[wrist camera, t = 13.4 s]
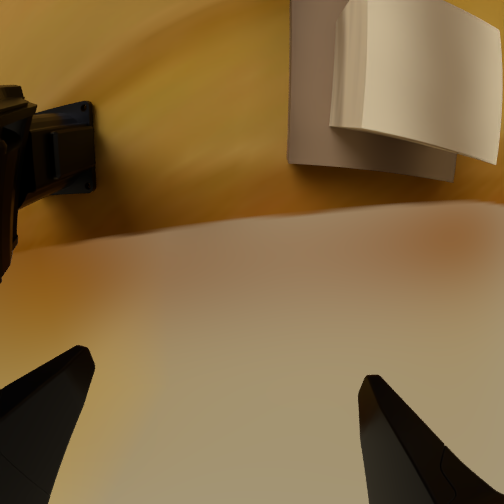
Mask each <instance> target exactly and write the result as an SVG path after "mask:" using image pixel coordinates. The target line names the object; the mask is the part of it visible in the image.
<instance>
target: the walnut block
mask: <svg viewBox="0 0 504 504" xmlns="http://www.w3.org/2000/svg"><path fill="white" fill-rule="evenodd" d="M348 2H349V0H290V52H289V107H288V140H287V160H288V163H291V164H308V165H321V166H334V167H345V168H355V169H364V170H373V171H381V172H389V173H397V174H404V175H411V176H417V177H424V178H430V179H436V180H441V181H447V182H452V183H453V180H454V173H455V166H456V157H457V153H453V152H449V151H446V150H442V149H437V148H433V147H429V146H425V145H421V144H418V143H414V142H409V141H405V140H401V139H397V138H392V137H388V136H383V135H378V134H373V133H368V132H362V131H357V130H351V129H345V128H339V127H332V126H329V123H330V112H331V100H332V87H333V72H334V55H335V33H336V21H337V19H338V17H339V16H340V14H341V13H342V11H343V10H344V8H345V6H346V5H347V3H348Z"/></svg>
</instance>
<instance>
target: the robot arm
mask: <svg viewBox="0 0 504 504" xmlns="http://www.w3.org/2000/svg"><path fill="white" fill-rule="evenodd" d="M24 98H25V97H23V93H22V89H21V86H17V85H0V283H1V282H2V276H3V275H4V273H5V272H6V270H7V269H8V267H9V266H10V263H11V258H12V251H13V250H14V248H15V247H16V245H17V244H18V235H17V215H18V210H19V209H21V208H23V207H25V206H27V205H29V204H31V203H33V202H35V201H38V200H40V199H42V198H44V197H46V196H48V195H58V194H79V193H90V192H93V191H94V190H95V189H96V176H95V151H94V129H93V107H92V103H91V102H90V101H81V102H77V103H73V104H68V105H64V106H60V107H56V108H53V109H49V110H45V111H42V112H38V113H35V112H36V108H37V105H36V104H33V103H30V102H28V101H27V100H24ZM85 105H86V107H87V108H86V110H84V106H85ZM88 183H89V184H90V188H89V187H88ZM94 371H95V364H94V361H93V359H92V356H91V354H90V351H89V349H88V348H87V347H84V346H80V345H76V346H74V347H73V348H71V349H69V350H68V351H66V352H64V353H62V354H61V355H59V356H57V357H55V358H54V359H52V360H50V361H49V362H47V363H45V364H43V365H42V366H40V367H38V368H36V369H35V370H33V371H31V372H29V373H28V374H26V375H24V376H23V377H21V378H19V379H17V380H16V381H14V382H12V383H10V384H9V385H7V386H5V387H4V388H3V389H0V504H48V502H49V499H50V495H51V492H52V489H53V485H54V482H55V479H56V476H57V473H58V470H59V468H60V465H61V462H62V459H63V456H64V454H65V451H66V448H67V445H68V443H69V440H70V438H71V435H72V433H73V430H74V428H75V425H76V422H77V420H78V418H79V415H80V413H81V410H82V408H83V405H84V402H85V399H86V396H87V393H88V390H89V386H90V383H91V380H92V377H93V374H94ZM358 404H359V423H360V440H361V448H362V454H363V461H364V467H365V475H366V482H367V489H368V498H369V504H504V494H501V493H499V492H497V491H496V490H494V489H493V488H492V487H491V486H489V485H488V484H487V483H486V482H485V481H483V480H482V479H481V478H480V477H479V476H477V475H476V474H475V473H474V472H472V471H471V470H470V469H469V468H468V467H467V466H466V465H465V464H463V463H462V462H461V461H460V460H459V459H458V458H457V457H456V456H455V455H454V454H453V453H452V452H451V451H450V449H449V448H448V447H447V446H444V443H443V442H442V441H441V440H440V439H439V438H438V437H437V436H436V435H435V434H434V433H433V432H432V430H431V429H430V428H429V427H428V426H427V425H426V424H425V423H424V422H423V421H422V420H421V419H420V418H419V417H418V416H417V414H416V413H415V412H414V411H413V410H412V409H411V408H410V407H409V406H408V405H407V404H406V403H405V402H404V401H403V400H402V399H401V398H400V397H399V395H398V394H397V393H396V392H395V391H394V390H393V389H392V388H391V387H390V386H389V385H388V384H387V383H386V382H385V381H384V380H383V379H382V377H381V376H379V375H367V376H366V377H365V378H364V381H363V383H362V386H361V388H360V390H359V394H358Z"/></svg>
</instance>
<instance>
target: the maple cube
mask: <svg viewBox="0 0 504 504" xmlns="http://www.w3.org/2000/svg"><path fill="white" fill-rule="evenodd" d="M501 114H502V54H501V41H500V31H499V30H498V29H497V28H495V27H493V26H492V25H490V24H488V23H486V22H485V21H483V20H481V19H479V18H478V17H476V16H474V15H472V14H470V13H468V12H466V11H464V10H462V9H460V8H458V7H456V6H454V5H452V4H450V3H447V2H445V1H443V0H349V2H348V3H347V5H346V6H345V8H344V10H343V11H342V13H341V14H340V16H339V17H338V19H337V21H336V33H335V55H334V72H333V87H332V100H331V112H330V123H329V126H332V127H339V128H345V129H351V130H357V131H362V132H368V133H373V134H378V135H383V136H388V137H392V138H397V139H401V140H405V141H409V142H414V143H418V144H421V145H425V146H429V147H433V148H437V149H442V150H446V151H449V152H453V153H457V154H461V155H464V156H468V157H471V158H475V159H478V160H482V161H485V162H488V163H491V164H494V165H496V161H497V154H498V147H499V138H500V127H501Z"/></svg>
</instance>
